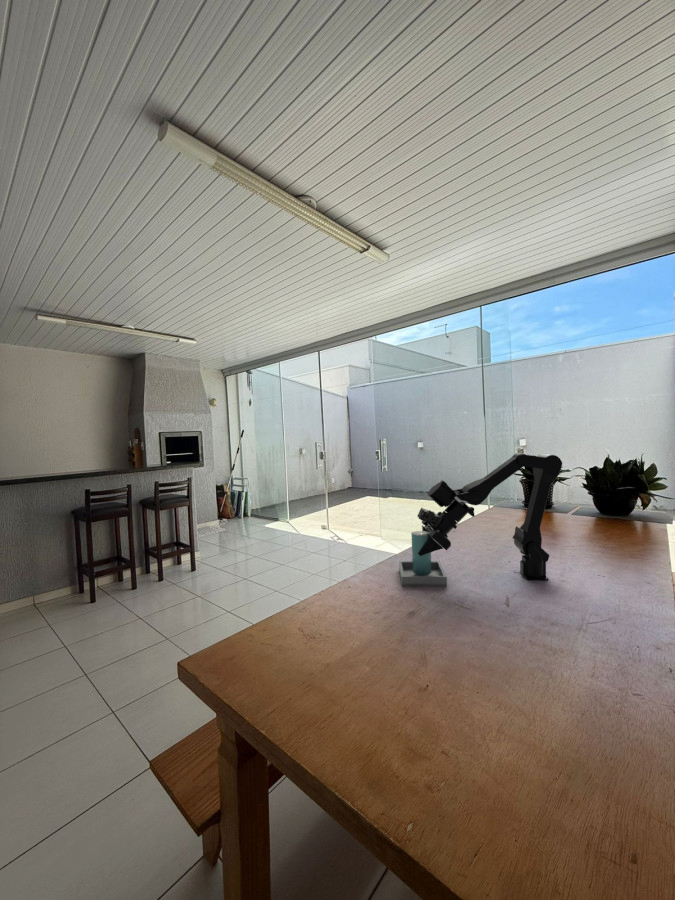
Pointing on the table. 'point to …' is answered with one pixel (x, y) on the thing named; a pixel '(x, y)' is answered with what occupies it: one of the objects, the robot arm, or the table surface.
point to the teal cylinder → (420, 562)
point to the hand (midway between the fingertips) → (417, 551)
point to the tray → (414, 579)
